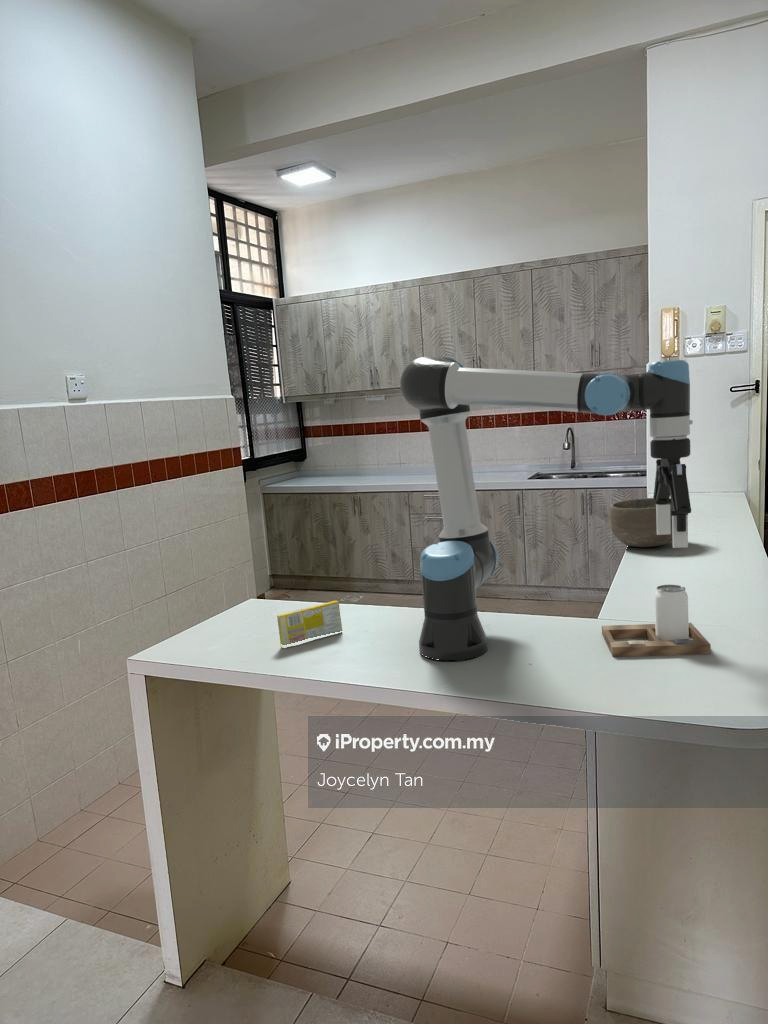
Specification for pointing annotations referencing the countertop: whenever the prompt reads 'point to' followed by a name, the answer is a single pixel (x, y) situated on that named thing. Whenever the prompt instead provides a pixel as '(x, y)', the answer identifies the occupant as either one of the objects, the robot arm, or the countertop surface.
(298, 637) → the candy box
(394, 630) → the countertop surface
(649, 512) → the bowl
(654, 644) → the socket board
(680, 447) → the robot arm
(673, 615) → the can
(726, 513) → the countertop surface
